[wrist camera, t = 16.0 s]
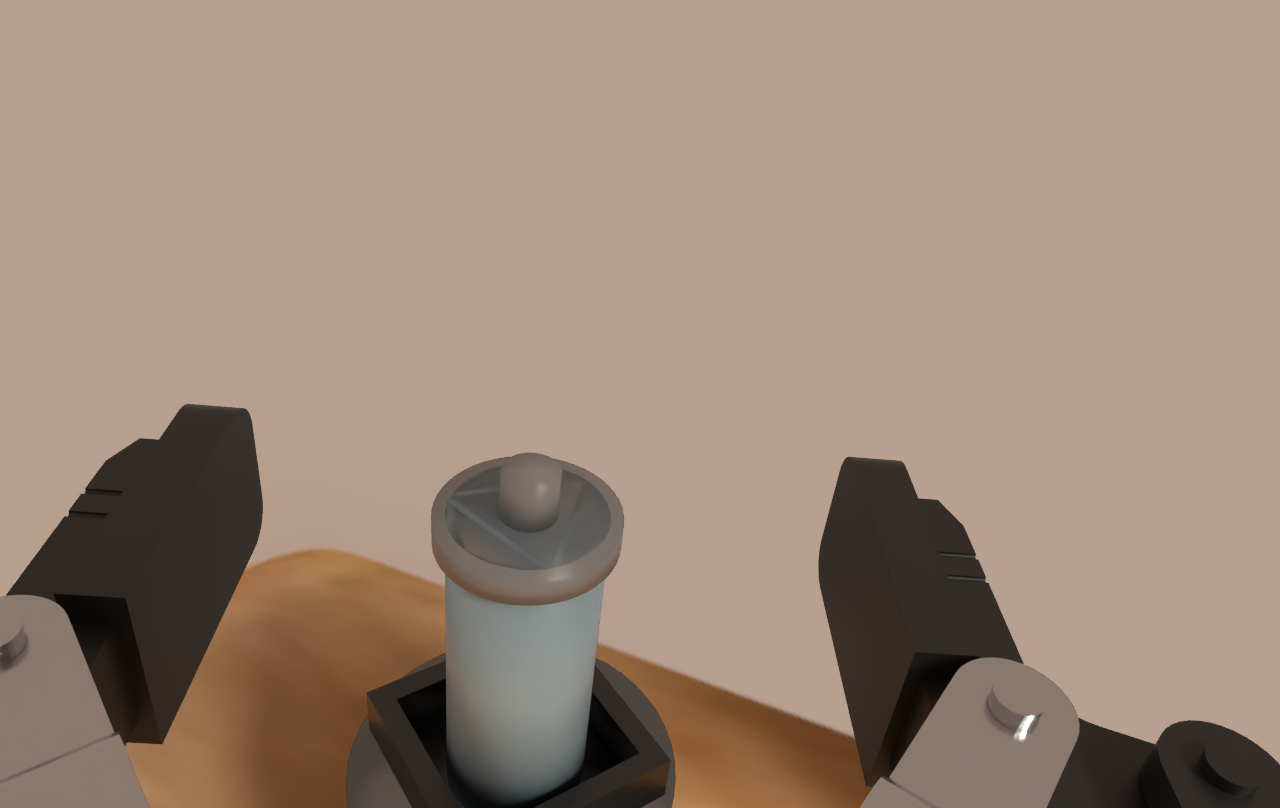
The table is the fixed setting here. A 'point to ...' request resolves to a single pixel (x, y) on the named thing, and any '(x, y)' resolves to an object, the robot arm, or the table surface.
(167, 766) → the table surface
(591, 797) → the dark grey holder
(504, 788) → the grey lidded canister
